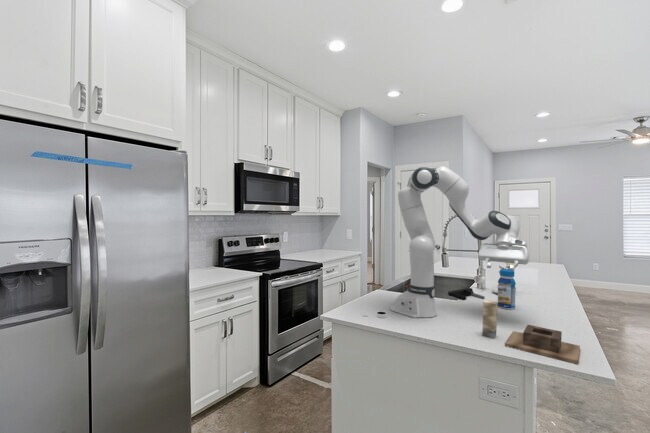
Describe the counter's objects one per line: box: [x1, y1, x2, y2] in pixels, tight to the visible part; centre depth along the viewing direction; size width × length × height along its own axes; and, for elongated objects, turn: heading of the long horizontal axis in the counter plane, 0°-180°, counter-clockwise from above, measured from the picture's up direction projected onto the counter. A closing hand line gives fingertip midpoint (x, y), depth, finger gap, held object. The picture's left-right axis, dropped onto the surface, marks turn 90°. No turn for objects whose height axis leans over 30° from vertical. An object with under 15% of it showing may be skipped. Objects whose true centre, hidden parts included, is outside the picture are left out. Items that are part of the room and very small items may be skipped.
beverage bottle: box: [497, 268, 517, 311], centre depth 172 cm, size 8×8×20 cm
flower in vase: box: [491, 263, 514, 295], centre depth 199 cm, size 13×11×25 cm
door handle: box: [447, 287, 486, 301], centre depth 193 cm, size 3×20×16 cm
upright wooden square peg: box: [481, 299, 498, 339], centre depth 133 cm, size 4×4×14 cm
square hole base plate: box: [504, 324, 581, 365], centre depth 123 cm, size 22×16×6 cm
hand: (500, 268), depth 145 cm, fingers open, 8 cm apart
